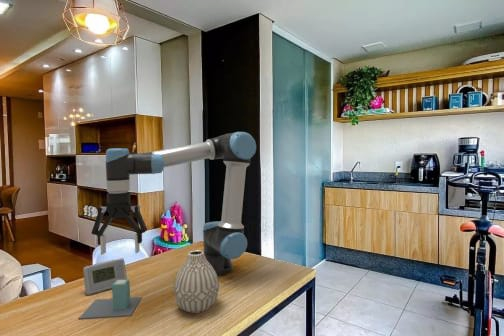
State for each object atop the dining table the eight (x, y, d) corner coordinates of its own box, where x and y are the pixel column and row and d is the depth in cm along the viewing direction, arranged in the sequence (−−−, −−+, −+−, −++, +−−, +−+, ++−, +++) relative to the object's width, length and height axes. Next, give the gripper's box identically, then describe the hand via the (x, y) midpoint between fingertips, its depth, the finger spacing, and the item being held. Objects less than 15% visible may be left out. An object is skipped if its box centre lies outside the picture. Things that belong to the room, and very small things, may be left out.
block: (130, 303, 110) (129, 278, 109) (126, 309, 105) (125, 284, 105) (117, 303, 109) (116, 279, 109) (112, 310, 105) (112, 284, 104)
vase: (181, 296, 115) (180, 245, 114) (222, 296, 115) (221, 245, 114) (168, 319, 99) (166, 260, 98) (215, 319, 99) (214, 260, 98)
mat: (141, 298, 114) (141, 297, 114) (131, 316, 101) (130, 315, 101) (95, 300, 113) (95, 299, 113) (78, 319, 100) (78, 318, 100)
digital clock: (84, 297, 116) (83, 270, 115) (83, 288, 123) (82, 263, 123) (128, 287, 124) (128, 262, 124) (125, 279, 132) (124, 256, 131)
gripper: (154, 189, 110) (156, 248, 111) (88, 191, 108) (90, 250, 109) (149, 192, 103) (151, 254, 104) (78, 194, 101) (81, 257, 102)
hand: (120, 252), depth 107 cm, fingers open, 11 cm apart
